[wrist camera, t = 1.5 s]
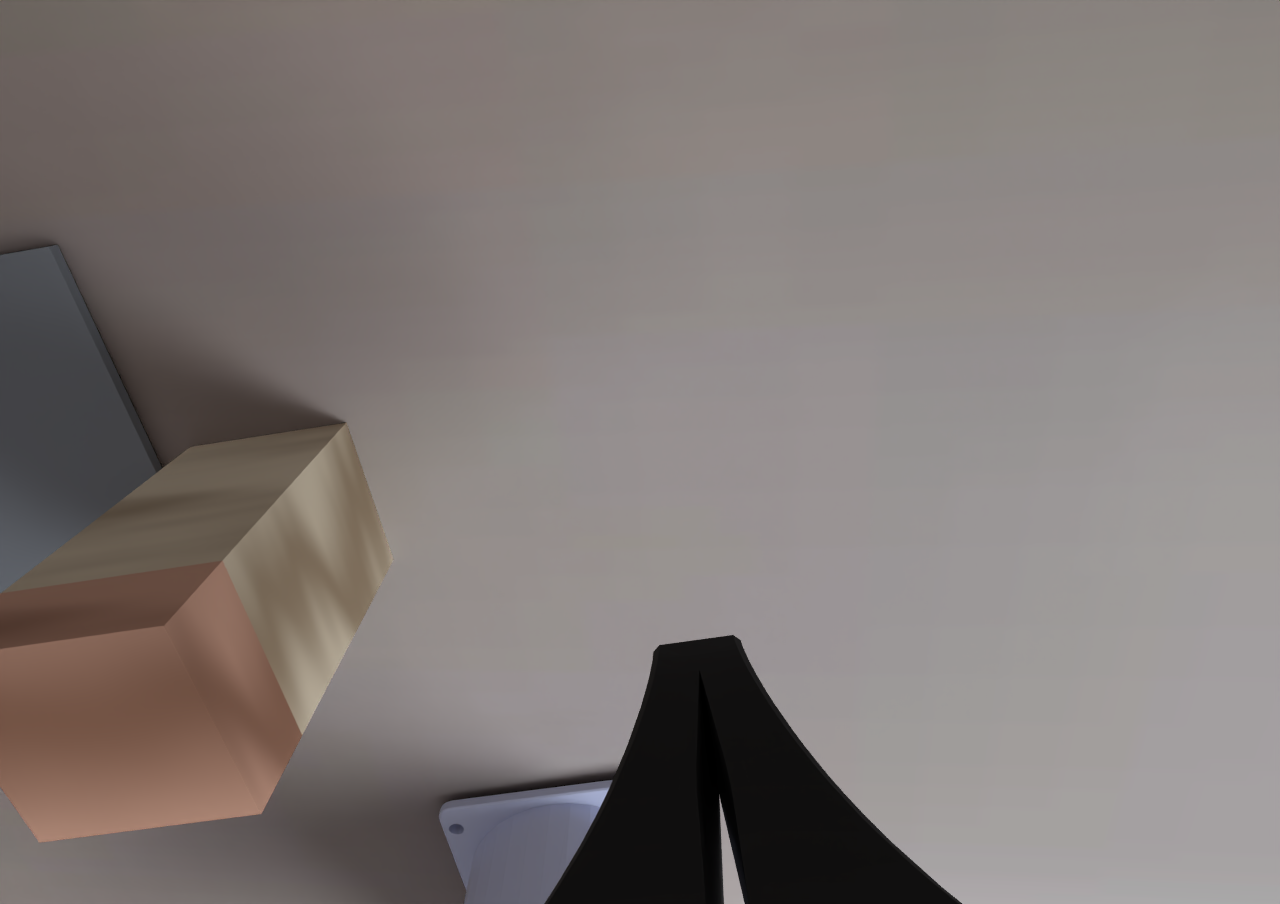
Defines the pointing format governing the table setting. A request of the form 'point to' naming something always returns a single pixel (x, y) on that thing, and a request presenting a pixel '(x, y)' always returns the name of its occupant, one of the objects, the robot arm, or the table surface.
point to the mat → (57, 415)
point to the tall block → (186, 637)
